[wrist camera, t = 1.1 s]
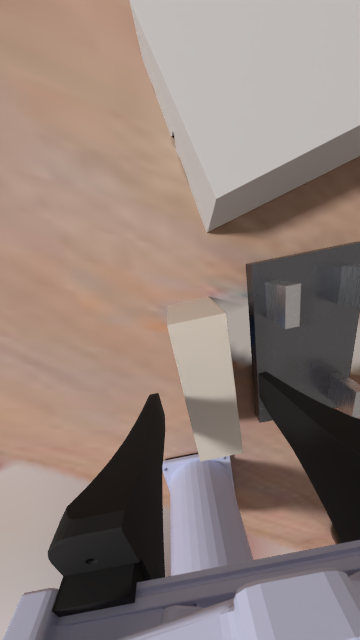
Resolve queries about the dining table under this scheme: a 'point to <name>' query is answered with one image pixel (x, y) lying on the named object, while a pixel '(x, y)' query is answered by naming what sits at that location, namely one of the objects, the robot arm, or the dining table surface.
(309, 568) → the robot arm
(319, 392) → the rack
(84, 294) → the dining table surface
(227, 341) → the cream rectangular block
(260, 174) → the long grey wedge ramp
